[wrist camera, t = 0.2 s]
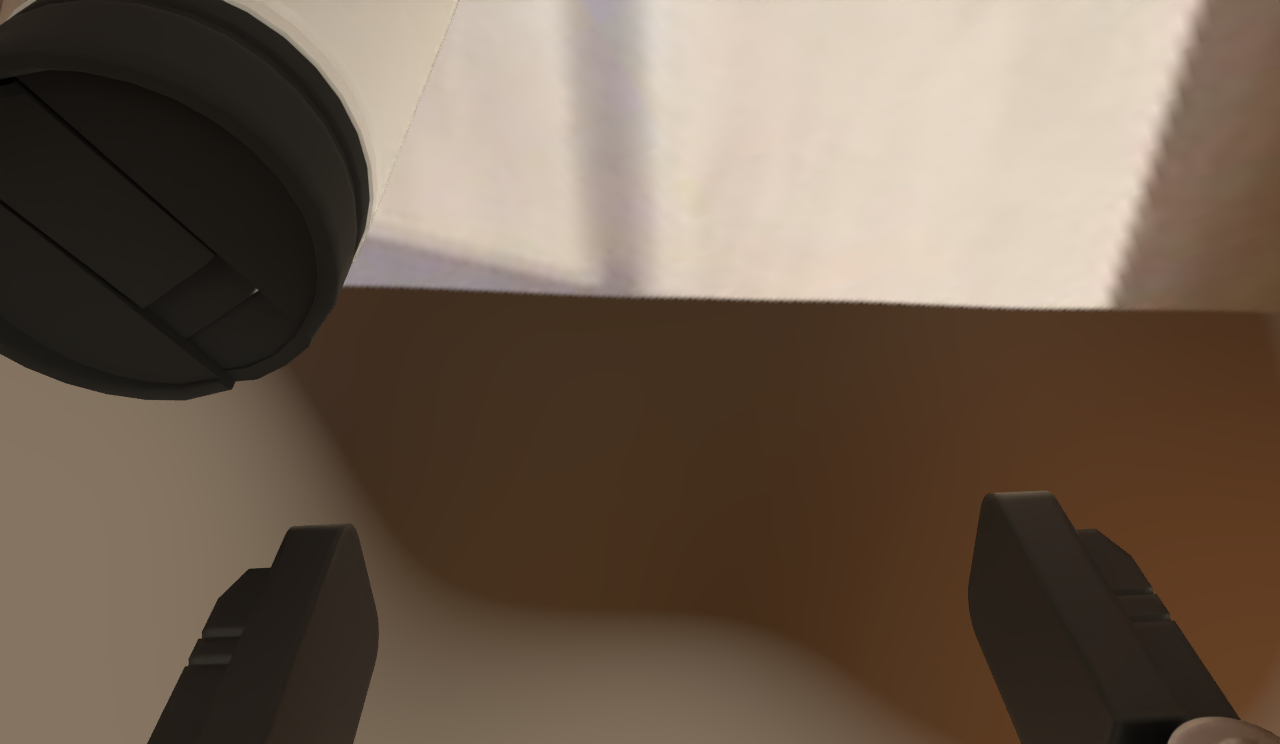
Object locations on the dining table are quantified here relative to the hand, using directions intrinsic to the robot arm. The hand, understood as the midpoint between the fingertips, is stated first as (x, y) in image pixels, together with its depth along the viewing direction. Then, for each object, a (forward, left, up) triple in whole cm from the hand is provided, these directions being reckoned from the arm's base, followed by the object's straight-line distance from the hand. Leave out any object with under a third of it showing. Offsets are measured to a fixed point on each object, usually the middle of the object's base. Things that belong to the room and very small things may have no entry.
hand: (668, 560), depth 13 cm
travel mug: (+2, -8, -23) cm, 25 cm away
